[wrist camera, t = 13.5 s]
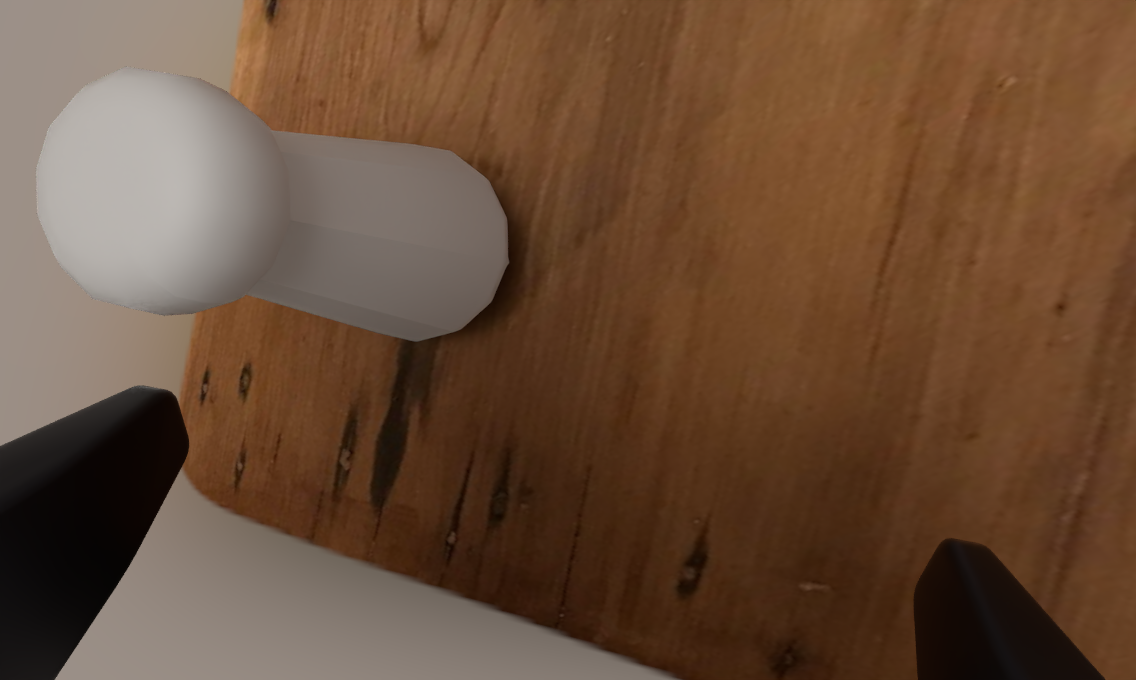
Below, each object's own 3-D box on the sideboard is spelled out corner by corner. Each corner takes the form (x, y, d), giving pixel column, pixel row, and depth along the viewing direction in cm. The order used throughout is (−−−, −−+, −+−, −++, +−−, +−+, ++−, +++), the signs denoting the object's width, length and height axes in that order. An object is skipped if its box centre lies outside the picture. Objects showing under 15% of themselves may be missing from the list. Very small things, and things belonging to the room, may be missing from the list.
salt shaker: (359, 317, 26) (-50, 316, 13) (388, 150, 25) (-8, -11, 13) (515, 355, 24) (214, 393, 12) (550, 177, 24) (274, 21, 11)
